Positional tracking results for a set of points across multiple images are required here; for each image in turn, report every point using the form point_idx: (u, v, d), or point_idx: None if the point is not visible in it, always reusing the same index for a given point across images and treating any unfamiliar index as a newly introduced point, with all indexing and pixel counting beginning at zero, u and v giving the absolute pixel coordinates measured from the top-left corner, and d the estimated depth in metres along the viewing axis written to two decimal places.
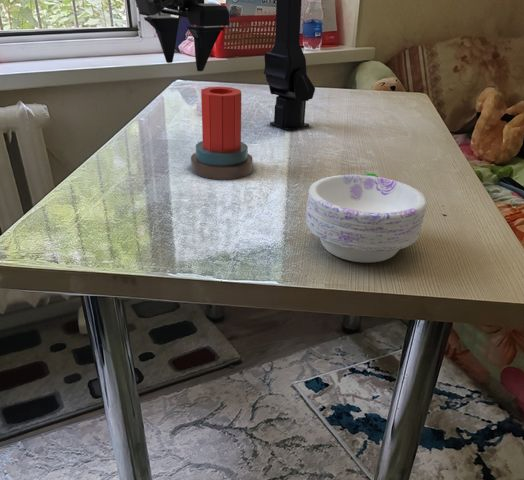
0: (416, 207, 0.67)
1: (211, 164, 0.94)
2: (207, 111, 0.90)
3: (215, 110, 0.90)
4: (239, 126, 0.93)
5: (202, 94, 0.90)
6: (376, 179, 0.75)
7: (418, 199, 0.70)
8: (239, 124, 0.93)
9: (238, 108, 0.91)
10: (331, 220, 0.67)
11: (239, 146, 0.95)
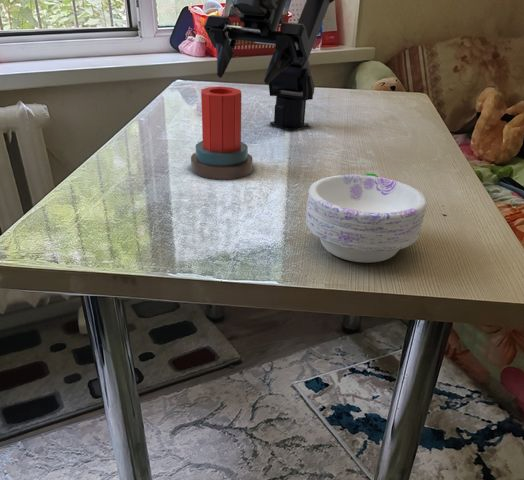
0: (416, 207, 0.67)
1: (211, 164, 0.94)
2: (207, 111, 0.90)
3: (215, 110, 0.90)
4: (239, 126, 0.93)
5: (202, 94, 0.90)
6: (376, 179, 0.75)
7: (418, 199, 0.70)
8: (239, 124, 0.93)
9: (238, 108, 0.91)
10: (331, 220, 0.67)
11: (239, 146, 0.95)
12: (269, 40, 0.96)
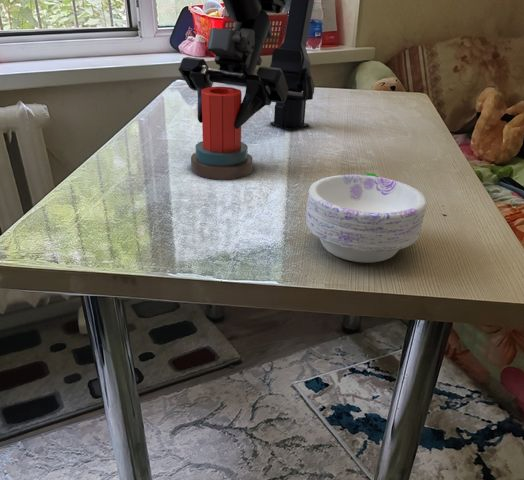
0: (416, 207, 0.67)
1: (211, 164, 0.94)
2: (207, 111, 0.90)
3: (215, 110, 0.90)
4: None
5: (202, 94, 0.90)
6: (376, 179, 0.75)
7: (418, 199, 0.70)
8: None
9: (238, 108, 0.91)
10: (331, 220, 0.67)
11: (239, 146, 0.95)
12: (240, 83, 0.93)
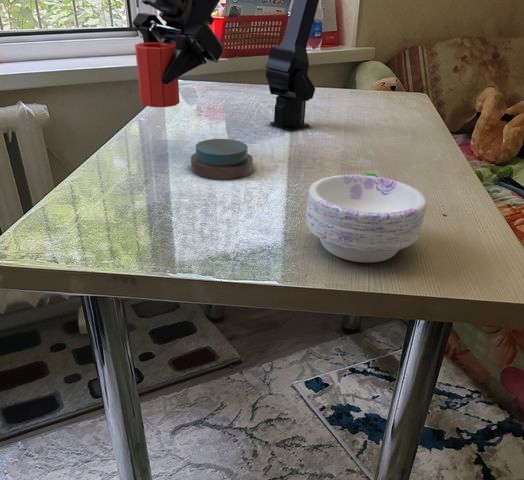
0: (416, 207, 0.67)
1: (211, 164, 0.94)
2: (138, 64, 0.92)
3: (143, 63, 0.91)
4: (170, 82, 0.93)
5: (135, 47, 0.91)
6: (376, 179, 0.75)
7: (418, 199, 0.70)
8: None
9: (167, 63, 0.91)
10: (331, 220, 0.67)
11: (172, 103, 0.95)
12: None
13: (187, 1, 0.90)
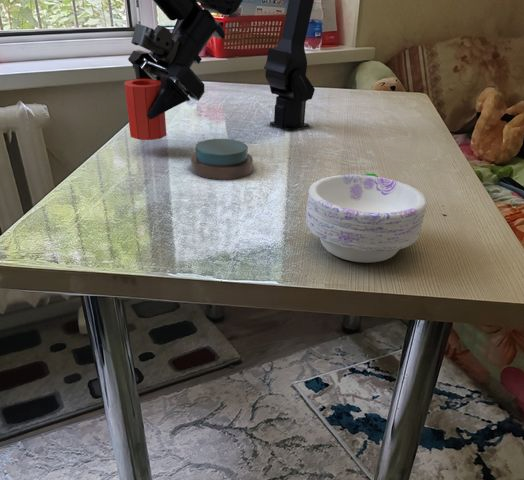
0: (416, 207, 0.67)
1: (211, 164, 0.94)
2: (126, 99, 0.98)
3: (130, 99, 0.97)
4: (156, 117, 0.99)
5: None
6: (376, 179, 0.75)
7: (418, 199, 0.70)
8: None
9: (152, 100, 0.97)
10: (331, 220, 0.67)
11: (158, 136, 1.01)
12: None
13: (173, 43, 0.95)
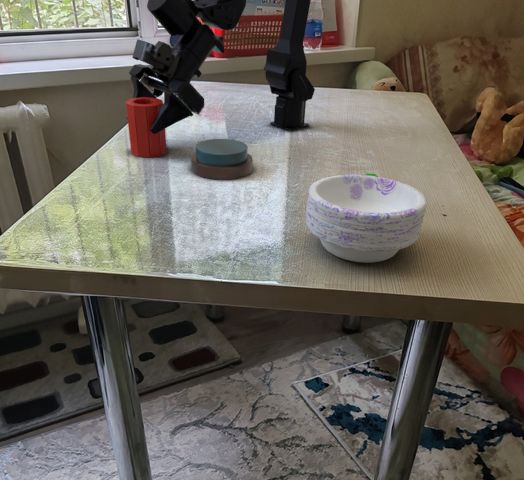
0: (416, 207, 0.67)
1: (211, 164, 0.94)
2: None
3: (131, 118, 0.99)
4: (156, 135, 1.01)
5: None
6: (376, 179, 0.75)
7: (418, 199, 0.70)
8: (156, 133, 1.00)
9: (153, 118, 0.99)
10: (331, 220, 0.67)
11: (158, 153, 1.03)
12: None
13: (174, 58, 0.97)
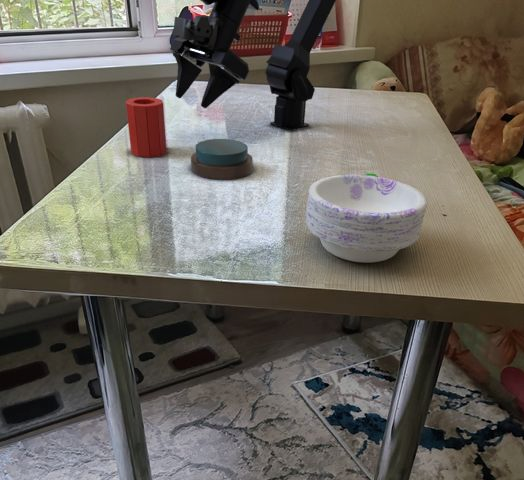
0: (416, 207, 0.67)
1: (211, 164, 0.94)
2: None
3: (131, 118, 0.99)
4: (156, 135, 1.01)
5: None
6: (376, 179, 0.75)
7: (418, 199, 0.70)
8: (156, 133, 1.00)
9: (153, 118, 0.99)
10: (331, 220, 0.67)
11: (158, 153, 1.03)
12: (214, 63, 1.01)
13: (212, 27, 0.98)
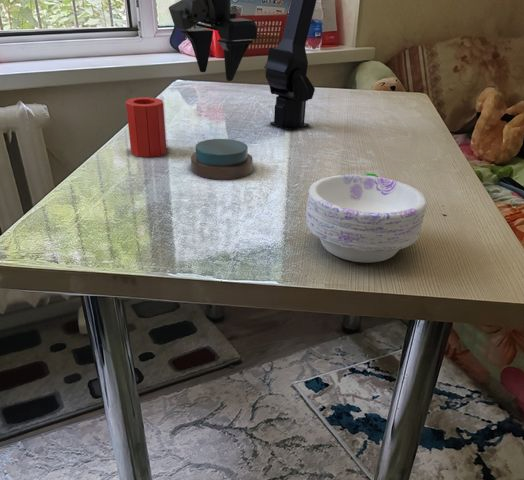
0: (416, 207, 0.67)
1: (211, 164, 0.94)
2: None
3: (131, 118, 0.99)
4: (156, 135, 1.01)
5: None
6: (376, 179, 0.75)
7: (418, 199, 0.70)
8: (156, 133, 1.00)
9: (153, 118, 0.99)
10: (331, 220, 0.67)
11: (158, 153, 1.03)
12: None
13: None
